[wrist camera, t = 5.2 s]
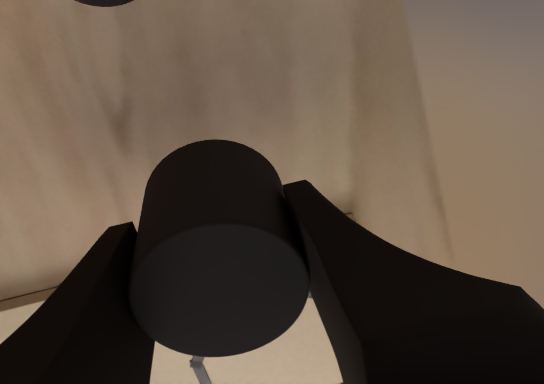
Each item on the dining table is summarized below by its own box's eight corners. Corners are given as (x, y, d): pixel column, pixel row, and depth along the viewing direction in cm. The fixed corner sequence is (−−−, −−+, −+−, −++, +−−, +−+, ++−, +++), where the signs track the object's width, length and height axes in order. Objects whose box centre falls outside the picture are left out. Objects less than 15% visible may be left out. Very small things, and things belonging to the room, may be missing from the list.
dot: (268, 123, 13) (294, 201, 9) (293, 238, 15) (322, 335, 11) (124, 157, 13) (97, 248, 9) (169, 268, 15) (161, 375, 11)
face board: (356, 212, 23) (361, 222, 22) (381, 404, 32) (386, 416, 31) (-47, 313, 23) (-56, 327, 22) (87, 479, 31) (84, 493, 31)
